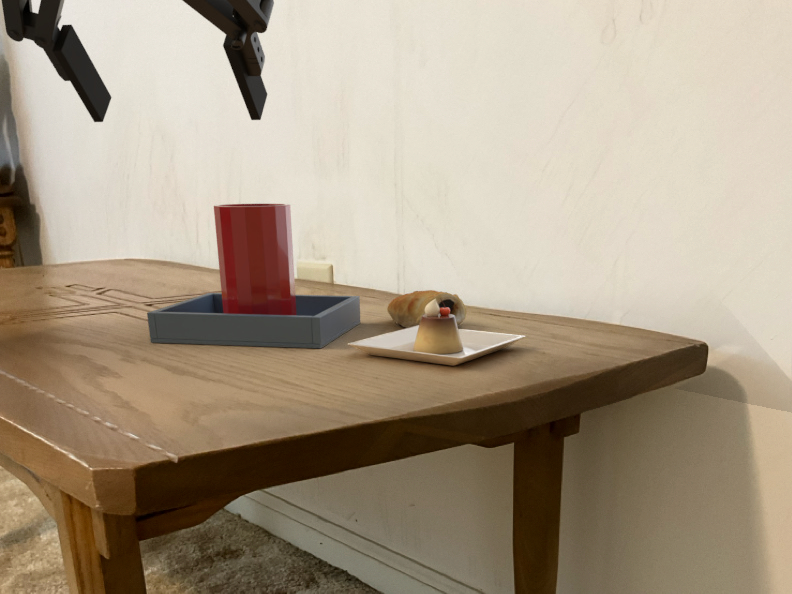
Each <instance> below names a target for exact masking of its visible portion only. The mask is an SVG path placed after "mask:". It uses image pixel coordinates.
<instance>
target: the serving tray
mask: <svg viewBox="0 0 792 594" xmlns="http://www.w3.org/2000/svg"><path fill="white" fill-rule="evenodd" d="M295 297H296V314H297V315H261V314H224V313H223V303H222V292H207V293H205V294H201V295H198V296H195V297H192V298H189V299H186V300H183V301H179V302H176V303H173V304H170V305H167V306H164V307H161V308H158V309H153V310H151V311H148V312H147V313H146V317H147V325H148V333H149V342H150V343H152V344H153V343H154V344H176V345H177V344H179V345H180V344H181V345H209V346H210V345H211V346H235V347H237V346H240V347H264V348H265V347H268V348H292V349H293V348H297V349H323V348H324V347H326V346H327V345H328V344H330V343H332V342H333V341H335V340H336V339H338V338H340V337H341V336H343V335H344V334H346V333H347V332H349V331H351V330H352V329H353V328H355V327H357V326H359V324H361V297H360V295H332V294H331V295H329V294H327V295H326V294H295Z"/></svg>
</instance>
